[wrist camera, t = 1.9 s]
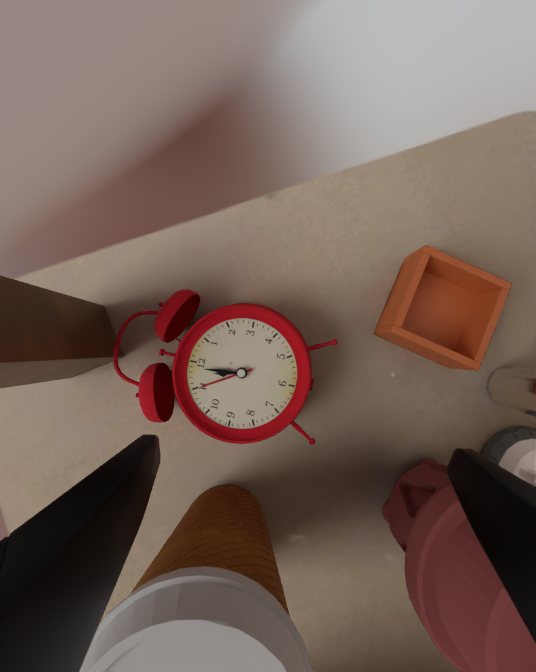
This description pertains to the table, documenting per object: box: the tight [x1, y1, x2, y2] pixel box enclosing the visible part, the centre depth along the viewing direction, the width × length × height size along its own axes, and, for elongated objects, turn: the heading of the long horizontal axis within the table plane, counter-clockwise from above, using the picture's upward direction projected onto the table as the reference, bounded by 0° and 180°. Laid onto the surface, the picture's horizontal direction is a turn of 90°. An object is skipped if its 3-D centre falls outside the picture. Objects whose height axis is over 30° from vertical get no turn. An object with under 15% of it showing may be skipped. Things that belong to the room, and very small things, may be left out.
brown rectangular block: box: [0, 276, 123, 388], centre depth 16 cm, size 4×4×11 cm
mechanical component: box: [382, 459, 536, 672], centre depth 16 cm, size 12×10×10 cm
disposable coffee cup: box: [79, 486, 312, 672], centre depth 15 cm, size 10×10×12 cm
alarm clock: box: [114, 290, 337, 445], centre depth 20 cm, size 10×6×15 cm
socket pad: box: [374, 245, 512, 371], centre depth 21 cm, size 7×7×3 cm
